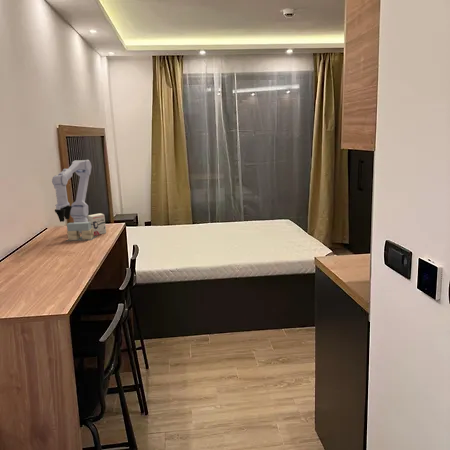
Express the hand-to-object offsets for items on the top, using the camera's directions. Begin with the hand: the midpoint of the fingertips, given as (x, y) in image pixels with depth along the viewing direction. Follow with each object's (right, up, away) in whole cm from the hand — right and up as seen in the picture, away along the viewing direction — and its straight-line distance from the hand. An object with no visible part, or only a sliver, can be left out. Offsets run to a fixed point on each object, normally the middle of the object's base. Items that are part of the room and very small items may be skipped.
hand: (64, 220), depth 246 cm
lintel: (+10, -5, -4) cm, 12 cm away
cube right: (+14, -10, -3) cm, 18 cm away
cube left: (+6, -11, -3) cm, 13 cm away
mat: (+10, -11, -3) cm, 15 cm away
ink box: (+17, -8, +8) cm, 20 cm away
